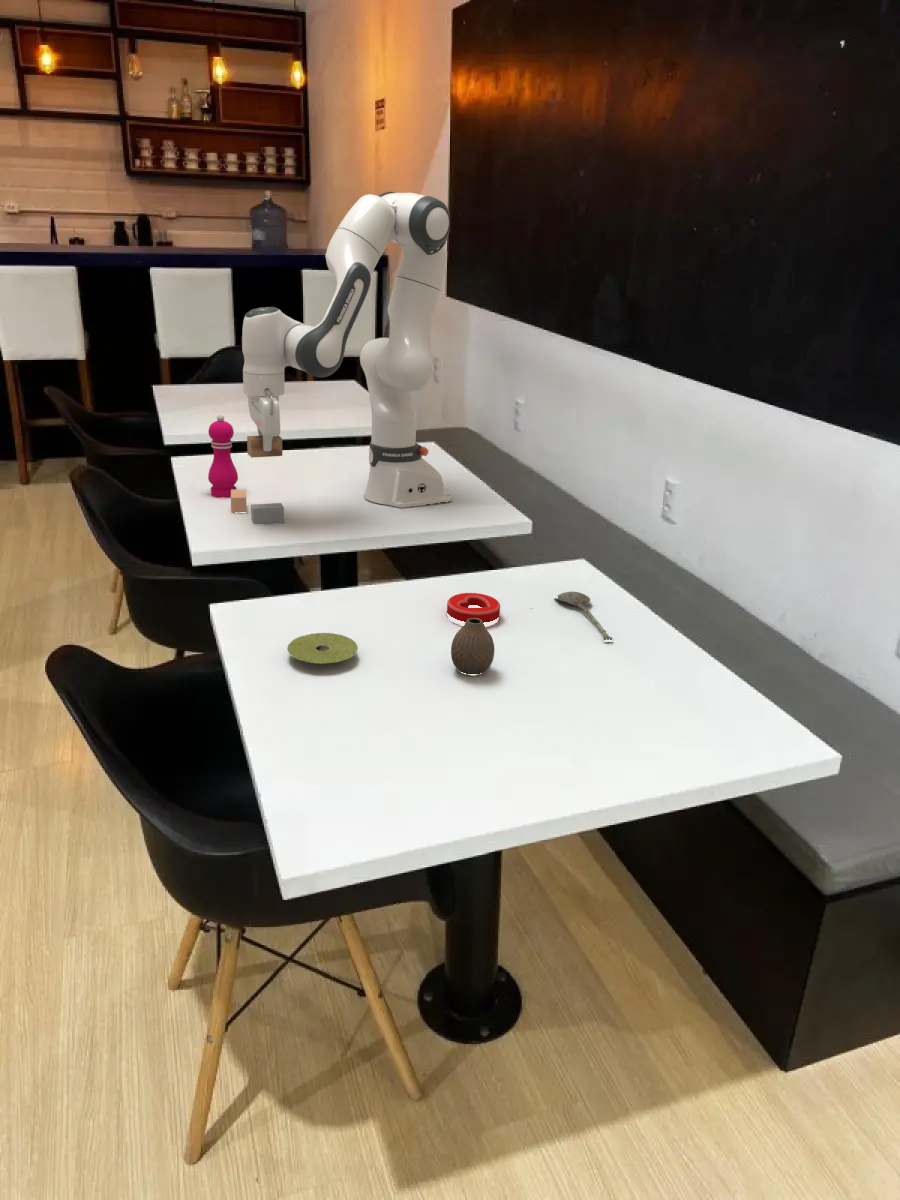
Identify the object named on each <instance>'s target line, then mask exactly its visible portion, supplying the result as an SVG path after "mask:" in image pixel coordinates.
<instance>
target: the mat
mask: <svg viewBox="0 0 900 1200" xmlns="http://www.w3.org/2000/svg"><path fill="white" fill-rule="evenodd" d="M358 647H359V646H358V644H357V643H356V641H355V640H353V639H352V638H350V637H348V636H345V635H343V634H338V633H333V632H318V633H317V632H316V633H309V634H305V635H301V636H298V637H296V638H294V639H293V640H291V641H290V643H288V646H287V648H286V649H287V652H288V654H289V655H290V656H291V657H293V658H294V659H296V660H299V661H302V662H305V663H312V664H332V663H339V662H343V661H345V660H348V659H351V658H352V657H353V656H355V655H356V654H357V652H358V650H359V649H358Z"/></svg>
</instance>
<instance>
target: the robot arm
mask: <svg viewBox="0 0 900 1200" xmlns="http://www.w3.org/2000/svg"><path fill="white" fill-rule="evenodd" d="M450 230H451V215H450V210H449V208H448V206H447V205H446V204H445V203H444V202H443V201H442V200H440V199H438V198H436V197H434V196H431V195H423V194H419V193H416V192H395V191H386V192H382V193H380V194H371V193H369V194H365V195H363V196H361V197H359V199H358V200H357V201H356V202H354V204H353V206H352V207H351V208H350V209H349V210H348V212H347V213H346V214H345V215H344V218H343V219H342V220H341V222H340V224H339V225H338V226H337V228H336V229H335V231H334V233H333V235H332V237H331V239H330V241H329V242H328V245H327V248H326V252H325V260H326V265H327V268H328V270H329V272H330V273H331V275H332V277H333V278H334V279H335V282H336V290H335V291H334V294H333V296H332V299H331V301H330V302H329V305H328V308H327V310H326V312H325V313H324V316H323V318H322V320H321V321H320V322H319V323H318V324H316V325H314V326H312V325H309V324H306V323H302V322H301V321H298V320H295V319H293V318H292V317H290V316H288V315H286V314H285V313H283V312H282V310H281V309H279V308H277V307H275V306H267V307H264V306H262V307H258V308H253V309H250V310H249V311H248V312H246V313H245V315H244V318H243V322H242V323H243V324H242V336H241V345H242V346H241V348H242V349H241V350H242V353H243V358H244V359H243V360H244V363H243V368H242V381H243V382H242V384H243V385H242V386H243V393H244V394H246V396H247V403H248V409H249V410H248V411H249V415H250V419H251V420H252V421H253V423H254V424H255V426H256V430H257V434H258V435H257V436H263V442H262V445H263V450H264V451H271V450H272V439H273V436H280V435H281V418H280V417H281V413H280V404H279V403H280V402H279V401H280V398H279V397H280V396H283V395H284V394H285V393H286V392H285V369H286V367H291V368H294V369H297V370H300V371H303V372H305V373H307V374H309V375H310V376H312V377H315V378H320V379H321V378H326V377H329V376H332V375H333V374H334V373H335V372H336V371H338V369H339V368H340V366H341V365H342V362H343V359H344V356H345V351H346V346H347V345H346V344H347V342H348V341H347V340H348V338H349V335H350V333H351V331H352V328H353V326H354V324H355V322H356V320H357V318H358V315H359V313H360V310H361V309H362V306H363V305H364V302H365V301H366V297H367V295H368V292H369V290H370V287H371V277H372V275H373V272H374V270H375V268H376V266H377V264H378V263H379V260H380V258H381V257H382V255H383V253H384V251H385V249H386V248H387V246H388V244H389V243H390V242H392V243H393V244H394V243H396V244H398V245H401V249H402V258H401V260H400V261H401V262H400V264H399V266H398V270H397V273H396V277H395V279H394V284H393V288H392V290H391V291H392V292H391V295H390V297H389V302H388V306H387V314H388V317H389V337H378V338H375V339H371V340H369V341H368V342H366V343H365V344H364V346H363V347H362V349H361V351H360V356H359V361H360V363H359V364H360V366H361V368H362V371H363V373H364V376H365V379H366V386H367V389H368V396H369V401H370V409H371V441H370V442H369V448H368V463H369V472H368V479H367V484H366V487H365V492H364V494H363V497H364V499H366V501H367V500H368V501H369V502H372V503H376V504H380V505H386V506H392V507H396V508H400V509H401V508H404V509H406V508H412V506H413V507H419V506H427V505H426V504H430V505H435V503H438V504H441V503H440V502H446V503H449V502H448V501H451V500H452V501H453V496H452V493H451V492H450V491H449V490H447V489H446V488H444V480H443V477H442V475H441V473H440V472H439V470H437V469H436V468H435V467H434V466H432V464H430V463H429V462H428V461H426V459H424V458H423V457H427V456H428V454H429V449H428V448H427V447H426V446H422V445H421V444H418V443H417V441H416V439H417V438H416V436H417V434H416V433H417V416H418V415H417V411H416V408H415V406H414V404H413V401H412V397H411V392H419V391H422V390H424V389H425V388H427V387H428V386H429V385H430V384H431V382H432V379H433V377H434V372H435V368H434V367H435V366H434V362H433V359H432V356H431V338H432V337H431V336H432V326H433V319H434V316H435V312H436V309H437V305H438V302H439V298H440V295H441V291H442V287H443V284H444V278H445V274H446V269H447V262H448V261H447V260H448V251H447V250H448V249H447V247H446V245H445V244H446V243H447V240H448V237H449V235H450V234H449V233H450ZM452 501H451V502H452ZM433 503H434V504H433Z"/></svg>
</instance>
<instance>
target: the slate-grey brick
mask: <svg viewBox="0 0 900 1200" xmlns="http://www.w3.org/2000/svg"><path fill="white" fill-rule="evenodd" d="M250 520H252V521H251V523H252V522H253V523H252V525H253V524H264V525H276V524H277V525H278V524H281V523H282V524H285V507H284V505H283V504H282V502H276V503H275V502H273V503H255V504H253V503H252V504H250Z"/></svg>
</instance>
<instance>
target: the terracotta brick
mask: <svg viewBox="0 0 900 1200" xmlns="http://www.w3.org/2000/svg"><path fill="white" fill-rule="evenodd" d="M246 504H247V489H244V488H243V489H241V488H240V489H236V490H231V497H230V505H231V514H232V513H235V512H247V511H248V509H247V505H246ZM247 513H248V512H247Z"/></svg>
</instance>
